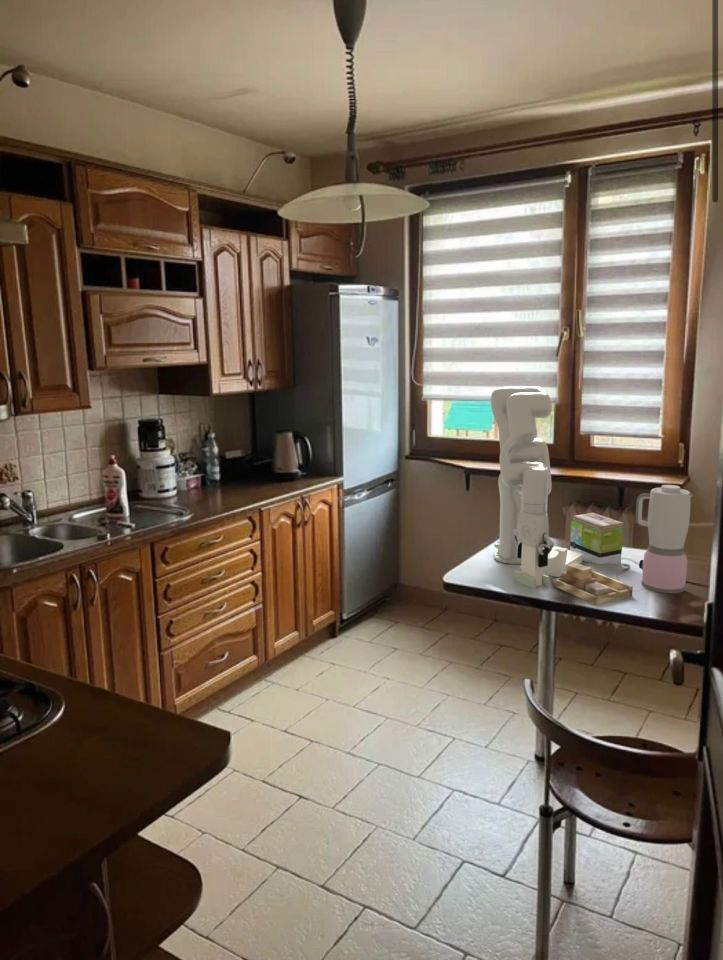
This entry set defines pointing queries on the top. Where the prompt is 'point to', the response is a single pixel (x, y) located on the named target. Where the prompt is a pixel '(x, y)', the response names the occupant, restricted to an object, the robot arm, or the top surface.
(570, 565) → the offcut
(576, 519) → the tea box
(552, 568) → the white saddle block
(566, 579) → the offcut
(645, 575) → the blender
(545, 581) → the holder
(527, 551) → the tall board
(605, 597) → the tray
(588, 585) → the offcut
